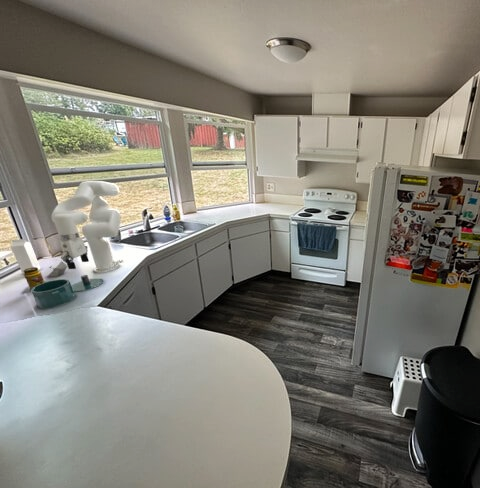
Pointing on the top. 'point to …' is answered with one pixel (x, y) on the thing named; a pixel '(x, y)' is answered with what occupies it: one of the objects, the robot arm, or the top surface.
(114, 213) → the robot arm
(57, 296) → the pot
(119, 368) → the top surface
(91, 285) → the lid
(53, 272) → the paper boat
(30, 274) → the condiment
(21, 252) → the milk
